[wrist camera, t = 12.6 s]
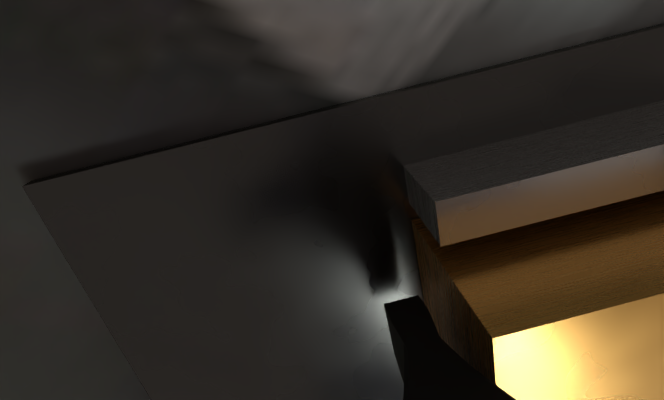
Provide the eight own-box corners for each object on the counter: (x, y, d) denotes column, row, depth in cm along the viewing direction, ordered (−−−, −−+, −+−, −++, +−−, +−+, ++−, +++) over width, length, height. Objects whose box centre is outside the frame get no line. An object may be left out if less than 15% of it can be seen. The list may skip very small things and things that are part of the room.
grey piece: (673, 348, 16) (854, 496, 11) (202, 469, 16) (161, 679, 11) (739, 4, 11) (1155, -22, 6) (31, 181, 11) (-210, 322, 5)
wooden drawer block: (663, 154, 12) (917, 234, 7) (646, 284, 14) (834, 415, 9) (411, 220, 12) (497, 346, 7) (430, 341, 14) (507, 503, 9)
